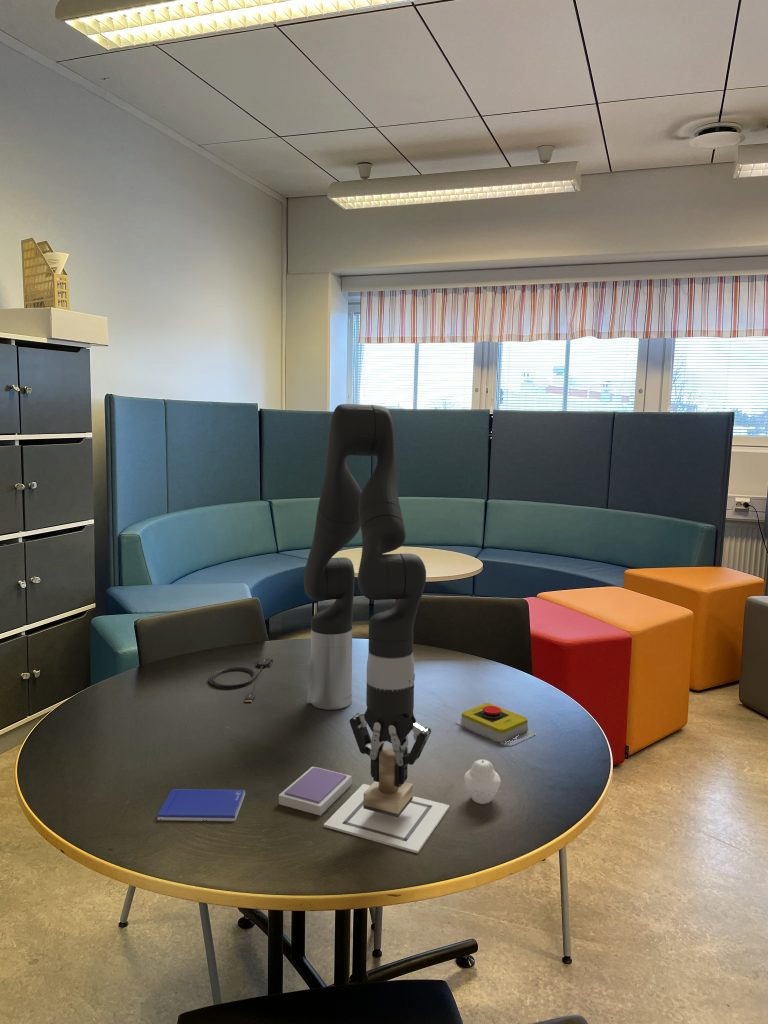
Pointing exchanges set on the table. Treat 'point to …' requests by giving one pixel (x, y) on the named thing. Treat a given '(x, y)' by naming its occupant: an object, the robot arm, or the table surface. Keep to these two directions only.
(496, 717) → the emergency button
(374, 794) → the stamp
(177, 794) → the blue book
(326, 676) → the robot arm
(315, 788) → the ink pad
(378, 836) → the sheet
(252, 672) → the cable
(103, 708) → the table surface
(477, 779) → the white rounded piece
